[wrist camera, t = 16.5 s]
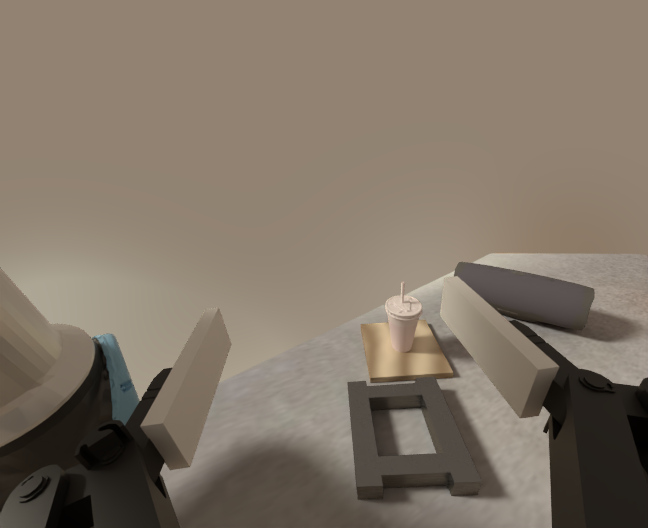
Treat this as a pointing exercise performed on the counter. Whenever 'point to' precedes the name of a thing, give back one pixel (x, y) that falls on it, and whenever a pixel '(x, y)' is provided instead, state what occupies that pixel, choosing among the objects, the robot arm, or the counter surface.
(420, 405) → the dark grey flat frame
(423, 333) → the birch board
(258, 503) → the counter surface
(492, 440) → the counter surface
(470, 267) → the bluetooth speaker
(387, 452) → the counter surface
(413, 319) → the smoothie
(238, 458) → the counter surface
